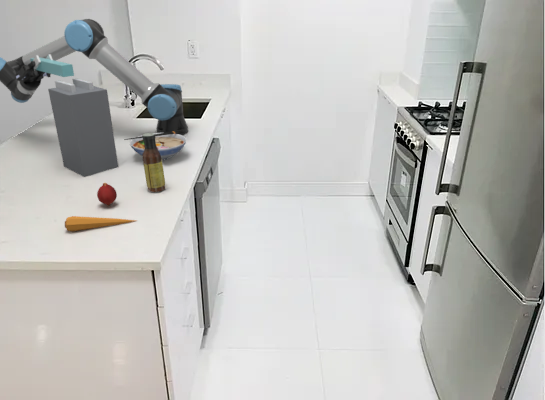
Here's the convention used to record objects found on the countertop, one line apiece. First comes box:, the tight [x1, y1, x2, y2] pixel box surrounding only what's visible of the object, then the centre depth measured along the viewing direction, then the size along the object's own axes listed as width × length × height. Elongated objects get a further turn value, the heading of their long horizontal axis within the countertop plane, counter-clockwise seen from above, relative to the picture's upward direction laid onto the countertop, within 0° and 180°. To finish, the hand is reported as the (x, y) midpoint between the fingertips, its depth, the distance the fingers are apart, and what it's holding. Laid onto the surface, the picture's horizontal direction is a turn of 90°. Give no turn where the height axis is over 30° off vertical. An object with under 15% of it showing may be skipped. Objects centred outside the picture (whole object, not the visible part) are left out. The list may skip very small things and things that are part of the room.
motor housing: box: [48, 77, 119, 178], centre depth 164 cm, size 16×14×32 cm
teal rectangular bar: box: [30, 58, 75, 78], centre depth 166 cm, size 26×4×4 cm, turn 49°
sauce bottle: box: [142, 132, 166, 193], centre depth 148 cm, size 7×6×20 cm
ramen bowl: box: [123, 130, 187, 161], centre depth 180 cm, size 25×23×8 cm
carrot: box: [64, 215, 137, 232], centre depth 128 cm, size 20×4×4 cm, turn 109°
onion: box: [96, 182, 118, 207], centre depth 139 cm, size 6×6×8 cm
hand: (44, 58), depth 168 cm, fingers closed on teal rectangular bar, 4 cm apart
